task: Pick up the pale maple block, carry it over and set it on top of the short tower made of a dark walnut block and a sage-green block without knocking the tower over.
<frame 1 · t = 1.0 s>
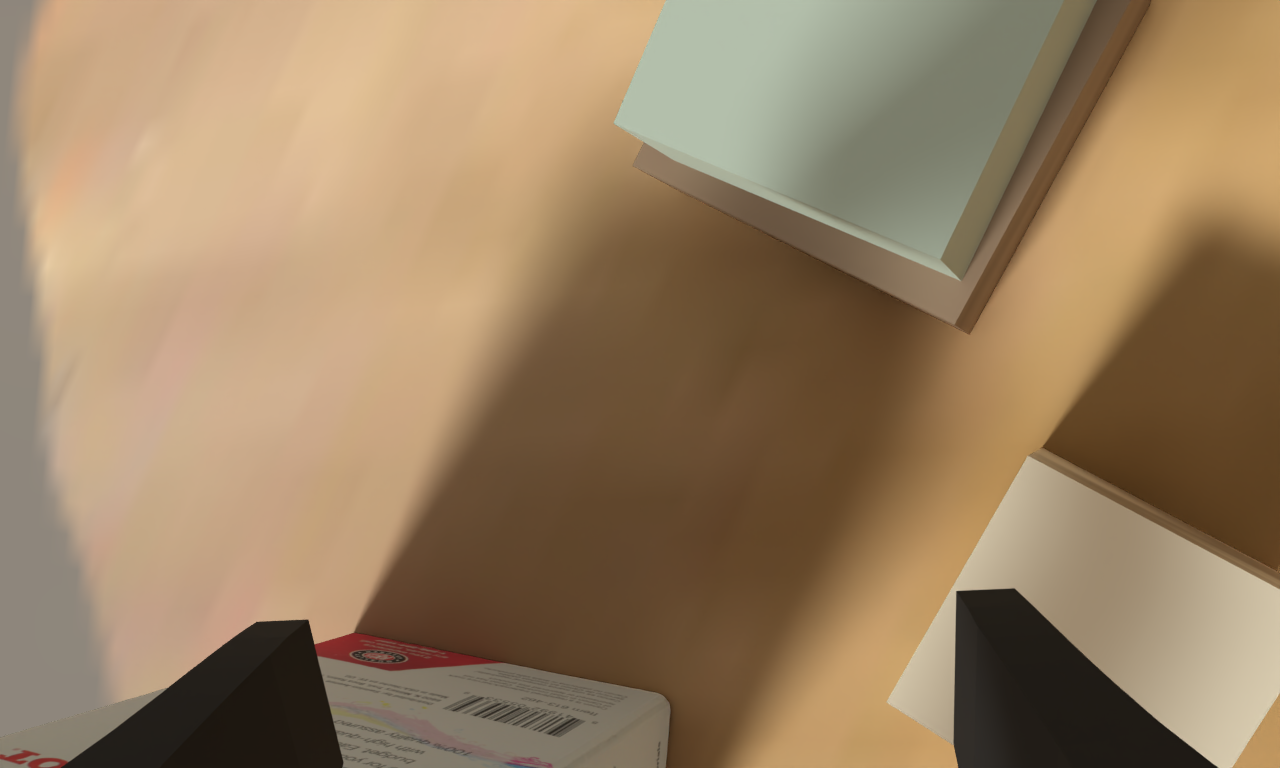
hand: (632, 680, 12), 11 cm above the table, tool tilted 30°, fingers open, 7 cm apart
sage top block: (880, 65, 20), point 3 cm above the table, touching walnut base block
maple block: (1093, 608, 21), on the table
walnut base block: (899, 109, 23), on the table, touching sage top block
ink box: (498, 756, 26), on the table
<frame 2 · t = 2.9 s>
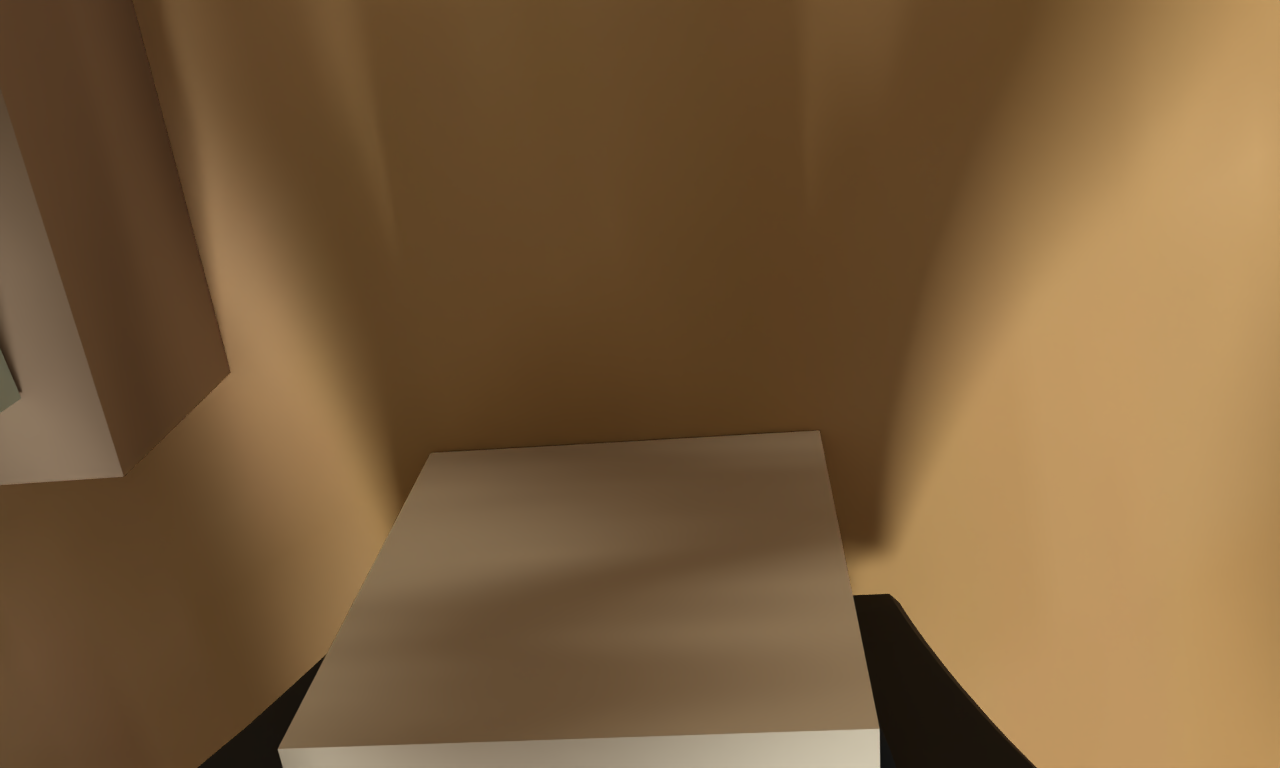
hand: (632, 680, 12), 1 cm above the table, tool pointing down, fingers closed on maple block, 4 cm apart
maple block: (640, 606, 14), on the table, touching gripper
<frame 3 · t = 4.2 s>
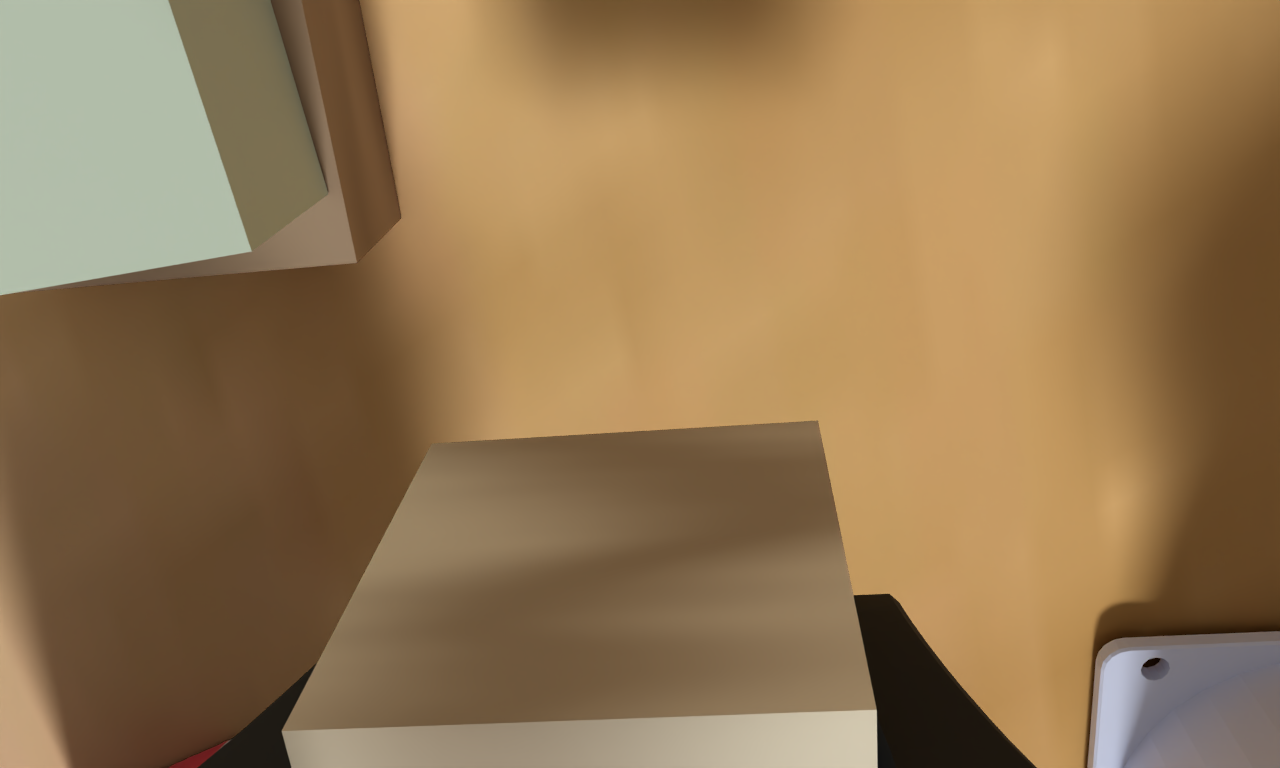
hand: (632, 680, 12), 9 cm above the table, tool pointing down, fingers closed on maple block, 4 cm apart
sage top block: (67, 24, 16), point 3 cm above the table
maple block: (639, 596, 14), point 7 cm above the table, touching gripper
walnut base block: (164, 28, 19), on the table
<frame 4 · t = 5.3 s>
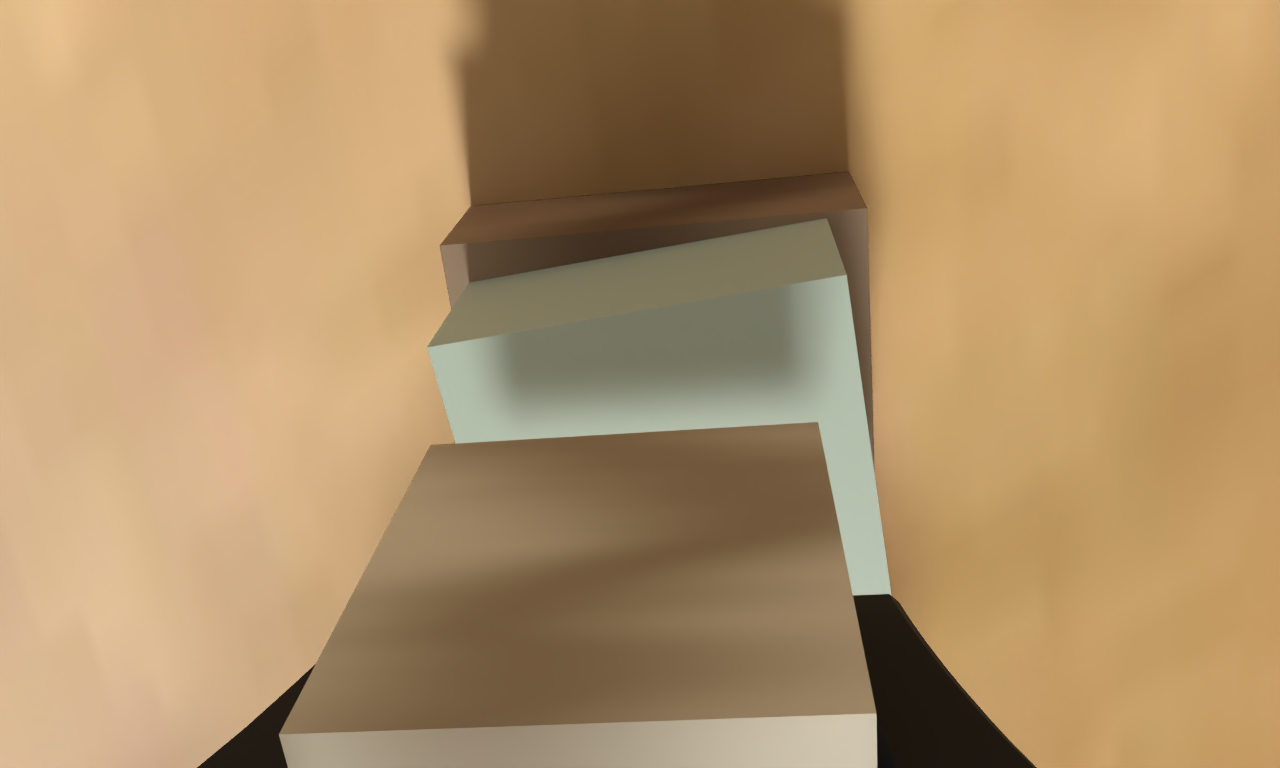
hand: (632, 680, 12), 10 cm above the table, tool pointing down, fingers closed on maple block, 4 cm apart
sage top block: (678, 414, 20), point 3 cm above the table, touching walnut base block
maple block: (639, 598, 14), point 9 cm above the table, touching gripper
walnut base block: (675, 357, 22), on the table, touching sage top block
when the fingers open (8 cm above the table, at t = 6.1 s): maple block drops 1 cm, resting on sage top block.
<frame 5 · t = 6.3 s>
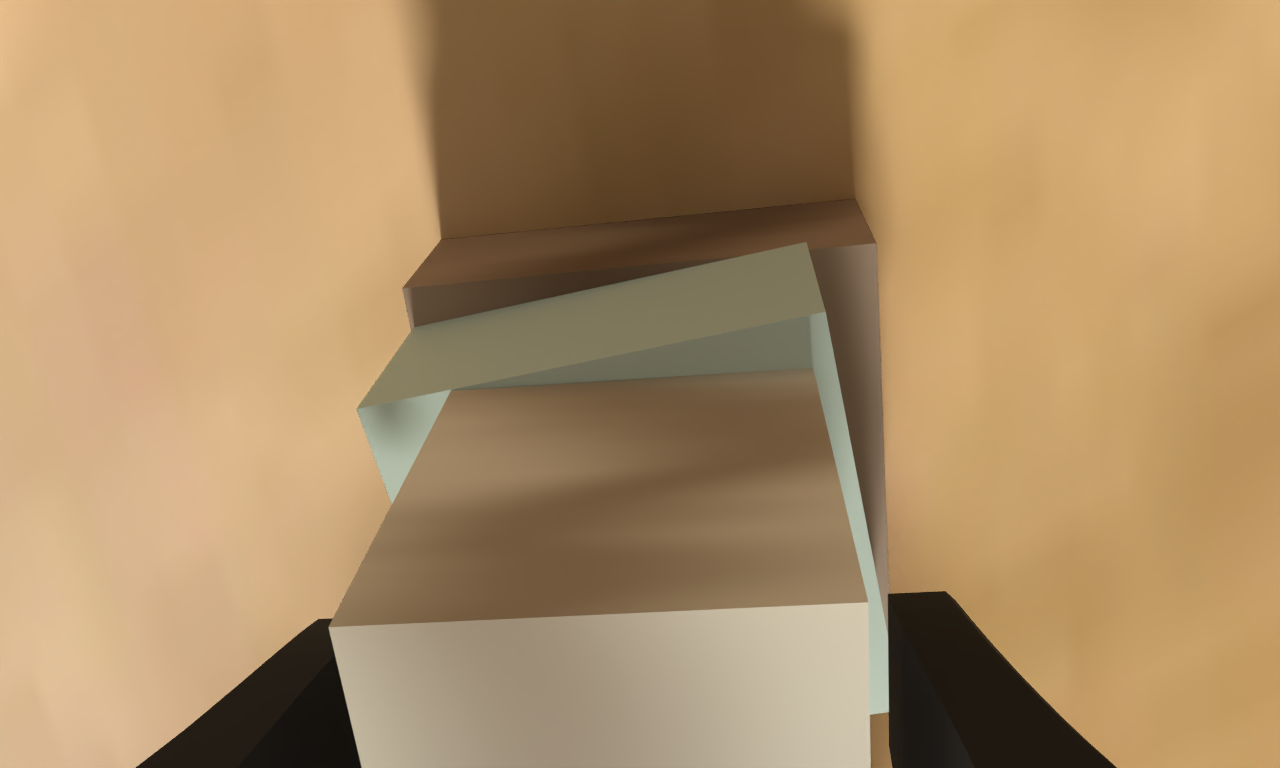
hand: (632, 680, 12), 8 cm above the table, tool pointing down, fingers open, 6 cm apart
sage top block: (652, 462, 18), point 3 cm above the table, touching maple block
maple block: (645, 537, 15), point 6 cm above the table, touching sage top block
walnut base block: (667, 400, 21), on the table
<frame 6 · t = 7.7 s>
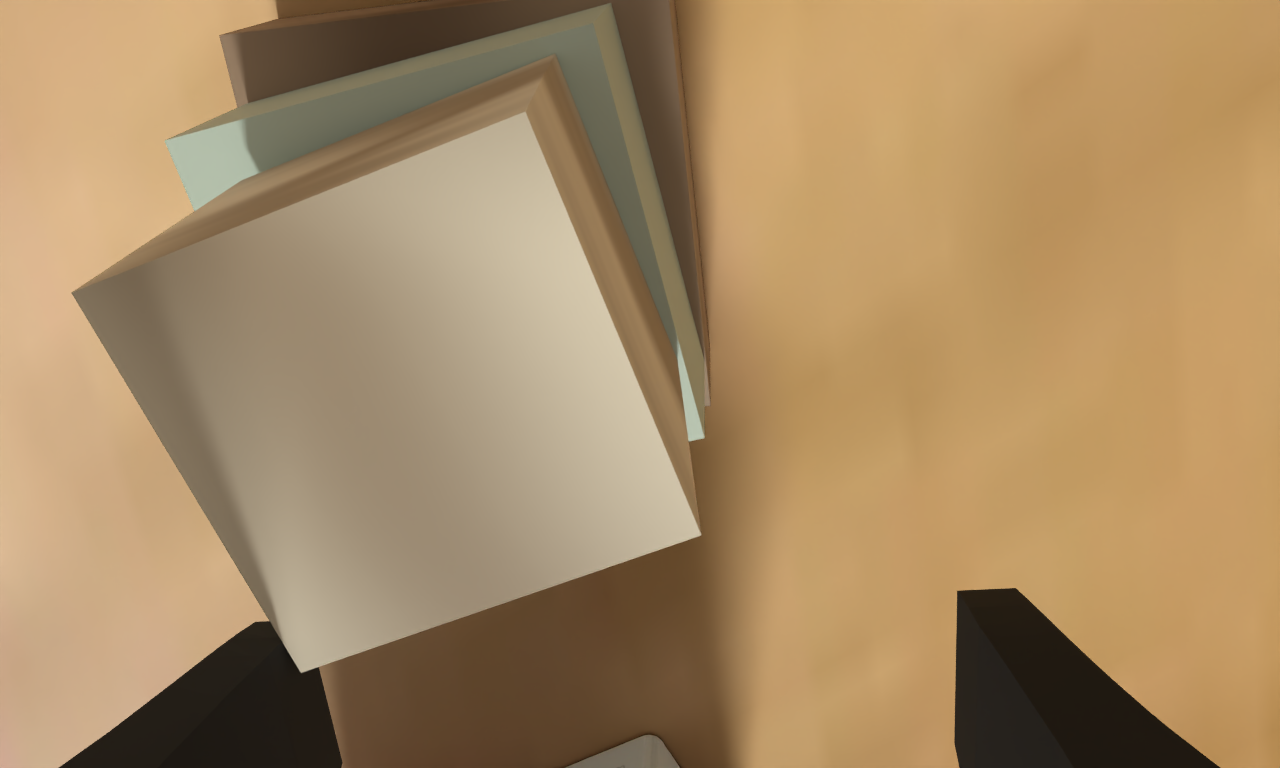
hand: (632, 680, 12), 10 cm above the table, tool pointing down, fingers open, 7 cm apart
sage top block: (484, 236, 19), point 3 cm above the table, touching maple block, walnut base block
maple block: (467, 273, 15), point 6 cm above the table, touching gripper, sage top block
walnut base block: (507, 187, 21), on the table, touching sage top block
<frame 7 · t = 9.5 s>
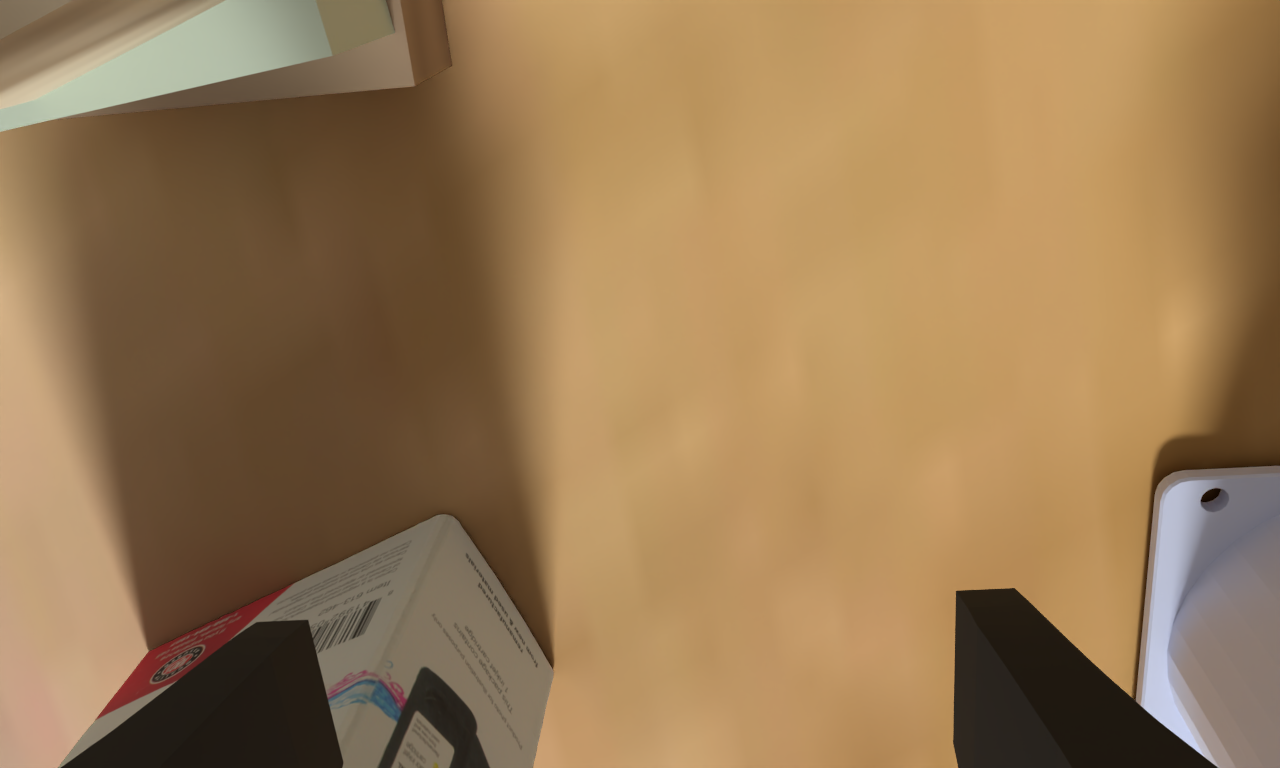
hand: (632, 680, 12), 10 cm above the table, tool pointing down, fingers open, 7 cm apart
ink box: (352, 653, 26), on the table
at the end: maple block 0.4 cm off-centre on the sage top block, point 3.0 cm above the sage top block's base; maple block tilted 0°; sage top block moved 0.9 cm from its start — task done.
